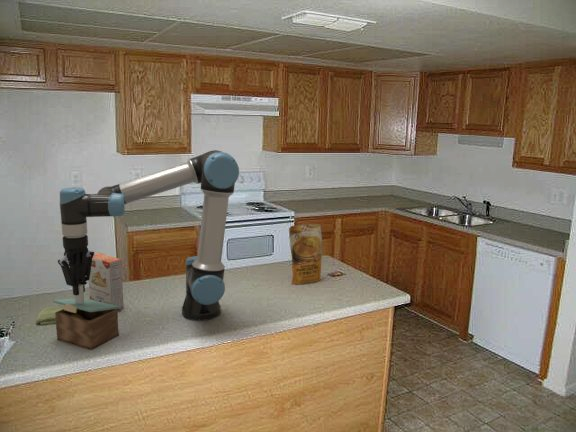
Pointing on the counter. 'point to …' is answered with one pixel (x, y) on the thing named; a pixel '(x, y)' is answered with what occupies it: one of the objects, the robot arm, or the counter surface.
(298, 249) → the pancake mix bag
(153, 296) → the counter surface
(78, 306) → the lid
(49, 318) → the washcloth
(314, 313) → the counter surface
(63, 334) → the box
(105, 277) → the cracker box
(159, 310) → the counter surface
